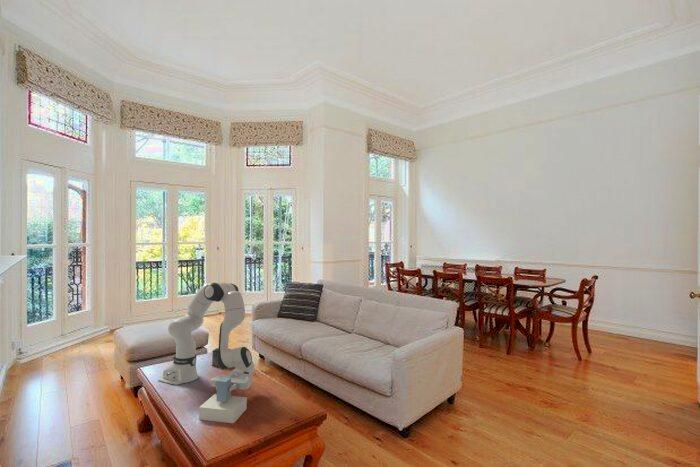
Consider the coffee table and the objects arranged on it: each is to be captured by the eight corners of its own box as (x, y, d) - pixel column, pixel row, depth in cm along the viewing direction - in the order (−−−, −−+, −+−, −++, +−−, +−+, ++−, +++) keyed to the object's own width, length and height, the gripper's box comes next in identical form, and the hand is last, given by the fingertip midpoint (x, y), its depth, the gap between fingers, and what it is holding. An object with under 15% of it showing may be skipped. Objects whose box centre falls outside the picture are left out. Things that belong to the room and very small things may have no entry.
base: (198, 419, 171) (199, 407, 171) (214, 405, 184) (214, 394, 184) (233, 423, 168) (233, 410, 168) (246, 408, 182) (246, 397, 182)
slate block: (216, 401, 174) (216, 381, 174) (221, 396, 179) (222, 376, 179) (225, 402, 173) (226, 381, 173) (230, 397, 178) (231, 377, 178)
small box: (231, 363, 242) (231, 348, 242) (226, 367, 236) (227, 351, 236) (216, 362, 243) (216, 347, 243) (211, 366, 237) (212, 350, 237)
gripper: (218, 370, 190) (204, 380, 177) (254, 373, 187) (242, 384, 174) (218, 381, 190) (203, 393, 177) (253, 385, 187) (241, 397, 174)
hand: (223, 389), depth 175 cm, fingers closed on slate block, 5 cm apart
